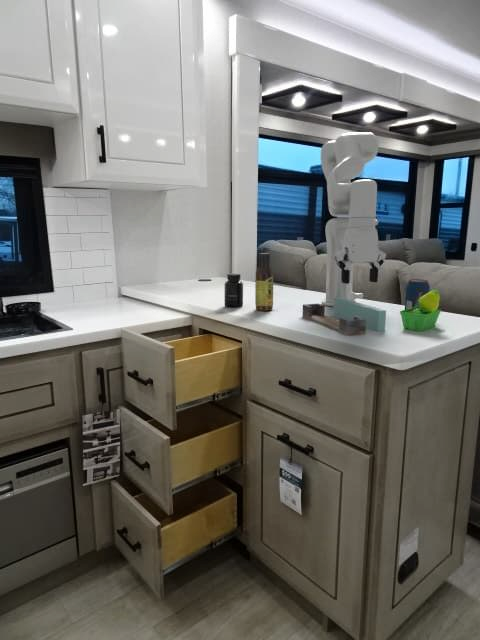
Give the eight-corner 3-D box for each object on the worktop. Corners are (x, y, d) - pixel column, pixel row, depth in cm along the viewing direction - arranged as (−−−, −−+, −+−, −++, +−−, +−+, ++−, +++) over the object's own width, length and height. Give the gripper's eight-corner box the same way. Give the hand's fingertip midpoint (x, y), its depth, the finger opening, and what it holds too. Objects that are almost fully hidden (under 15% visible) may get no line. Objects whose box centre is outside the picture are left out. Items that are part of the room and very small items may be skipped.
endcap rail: (317, 315, 148) (318, 303, 147) (365, 333, 123) (366, 319, 122) (302, 316, 146) (302, 304, 145) (347, 335, 121) (348, 321, 120)
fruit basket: (415, 322, 136) (418, 285, 134) (445, 327, 130) (448, 288, 128) (397, 328, 129) (399, 289, 126) (427, 333, 122) (430, 293, 120)
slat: (333, 315, 148) (333, 298, 147) (339, 315, 149) (340, 297, 148) (377, 331, 126) (378, 311, 125) (384, 331, 127) (386, 310, 125)
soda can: (414, 314, 148) (417, 278, 145) (432, 318, 142) (435, 280, 139) (399, 316, 144) (401, 279, 142) (416, 320, 138) (419, 282, 136)
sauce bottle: (271, 311, 154) (272, 253, 150) (253, 311, 156) (253, 253, 151) (274, 308, 161) (274, 252, 156) (257, 307, 162) (257, 252, 158)
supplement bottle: (229, 309, 160) (229, 275, 158) (221, 306, 166) (221, 273, 164) (246, 307, 163) (246, 274, 161) (237, 304, 169) (237, 272, 167)
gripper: (379, 224, 137) (376, 280, 140) (329, 224, 132) (327, 282, 135) (394, 223, 130) (391, 282, 133) (343, 223, 125) (341, 285, 128)
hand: (359, 282), depth 134 cm, fingers open, 9 cm apart
